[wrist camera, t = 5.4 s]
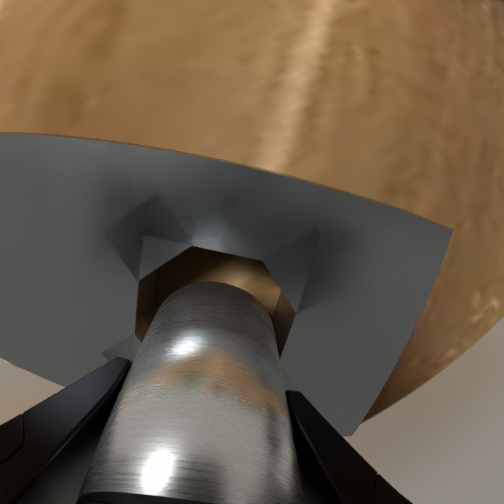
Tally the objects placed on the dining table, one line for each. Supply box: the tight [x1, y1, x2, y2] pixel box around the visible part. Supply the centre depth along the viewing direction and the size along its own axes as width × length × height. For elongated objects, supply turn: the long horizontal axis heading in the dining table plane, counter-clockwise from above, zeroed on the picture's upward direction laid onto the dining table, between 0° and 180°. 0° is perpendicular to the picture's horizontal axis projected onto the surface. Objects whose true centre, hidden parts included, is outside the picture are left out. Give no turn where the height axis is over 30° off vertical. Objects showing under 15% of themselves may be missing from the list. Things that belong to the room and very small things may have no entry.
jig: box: [0, 132, 453, 436], centre depth 12 cm, size 20×11×3 cm, turn 77°
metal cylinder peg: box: [76, 282, 305, 504], centre depth 6 cm, size 4×4×8 cm
